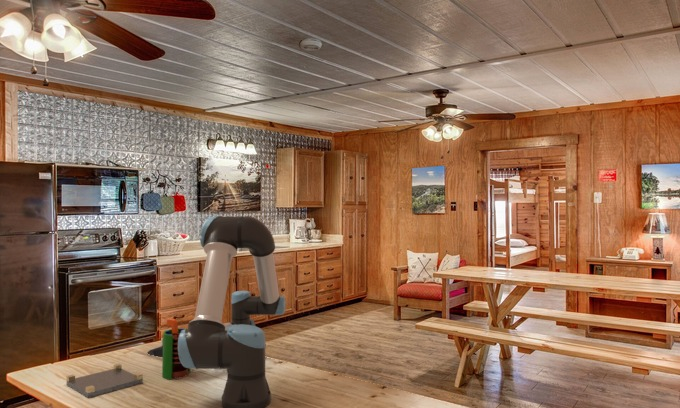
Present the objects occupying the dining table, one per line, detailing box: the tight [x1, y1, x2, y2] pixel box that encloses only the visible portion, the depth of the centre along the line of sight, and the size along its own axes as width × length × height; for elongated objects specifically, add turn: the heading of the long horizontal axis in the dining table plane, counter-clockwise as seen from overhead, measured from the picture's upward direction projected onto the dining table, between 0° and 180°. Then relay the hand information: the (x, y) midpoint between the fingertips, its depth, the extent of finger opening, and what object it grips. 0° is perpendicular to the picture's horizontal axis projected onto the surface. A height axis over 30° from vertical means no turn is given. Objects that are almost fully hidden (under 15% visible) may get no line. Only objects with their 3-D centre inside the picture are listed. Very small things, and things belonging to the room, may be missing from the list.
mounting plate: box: [66, 363, 143, 399], centre depth 167 cm, size 18×18×3 cm
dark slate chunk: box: [146, 345, 163, 358], centre depth 208 cm, size 15×22×5 cm
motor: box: [161, 318, 191, 380], centre depth 176 cm, size 10×9×20 cm
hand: (171, 345), depth 175 cm, fingers open, 13 cm apart
